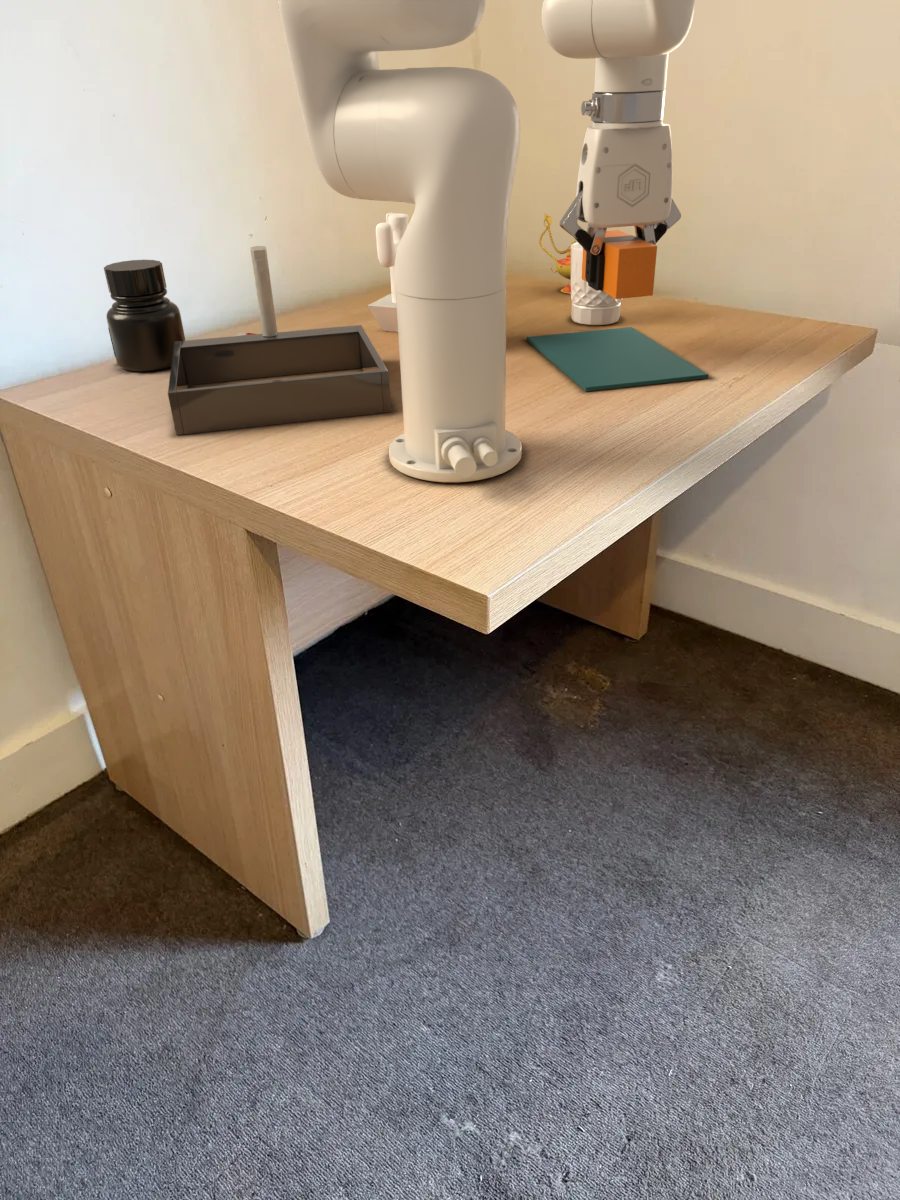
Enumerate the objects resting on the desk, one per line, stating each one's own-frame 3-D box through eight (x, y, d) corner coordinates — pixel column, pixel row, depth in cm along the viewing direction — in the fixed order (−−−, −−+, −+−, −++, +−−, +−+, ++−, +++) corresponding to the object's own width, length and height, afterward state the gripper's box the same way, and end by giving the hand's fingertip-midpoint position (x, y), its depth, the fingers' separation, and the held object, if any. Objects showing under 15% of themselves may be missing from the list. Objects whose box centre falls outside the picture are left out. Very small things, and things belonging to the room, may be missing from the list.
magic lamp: (625, 303, 131) (631, 225, 126) (526, 289, 141) (528, 216, 135) (646, 294, 136) (653, 218, 130) (549, 281, 146) (551, 210, 140)
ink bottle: (170, 348, 117) (151, 254, 111) (204, 360, 112) (186, 262, 106) (102, 364, 112) (78, 267, 105) (135, 378, 106) (111, 276, 100)
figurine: (440, 321, 125) (436, 208, 117) (411, 338, 118) (405, 219, 110) (395, 317, 128) (388, 207, 120) (365, 334, 121) (355, 217, 113)
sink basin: (391, 412, 94) (381, 270, 86) (176, 435, 89) (145, 289, 82) (364, 360, 110) (354, 237, 102) (181, 378, 106) (156, 251, 98)
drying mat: (708, 378, 100) (708, 374, 100) (585, 391, 97) (585, 387, 97) (631, 330, 118) (631, 326, 118) (526, 340, 116) (526, 336, 115)
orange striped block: (653, 295, 99) (657, 245, 97) (615, 299, 99) (618, 248, 96) (616, 276, 109) (619, 229, 106) (581, 279, 108) (583, 232, 105)
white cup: (631, 316, 125) (637, 242, 119) (609, 329, 119) (615, 252, 114) (581, 310, 128) (585, 238, 123) (558, 322, 123) (560, 248, 117)
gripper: (565, 117, 89) (559, 299, 99) (716, 108, 92) (696, 286, 102) (542, 113, 95) (538, 285, 105) (684, 105, 98) (668, 273, 108)
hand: (616, 284), depth 103 cm, fingers closed on orange striped block, 4 cm apart
